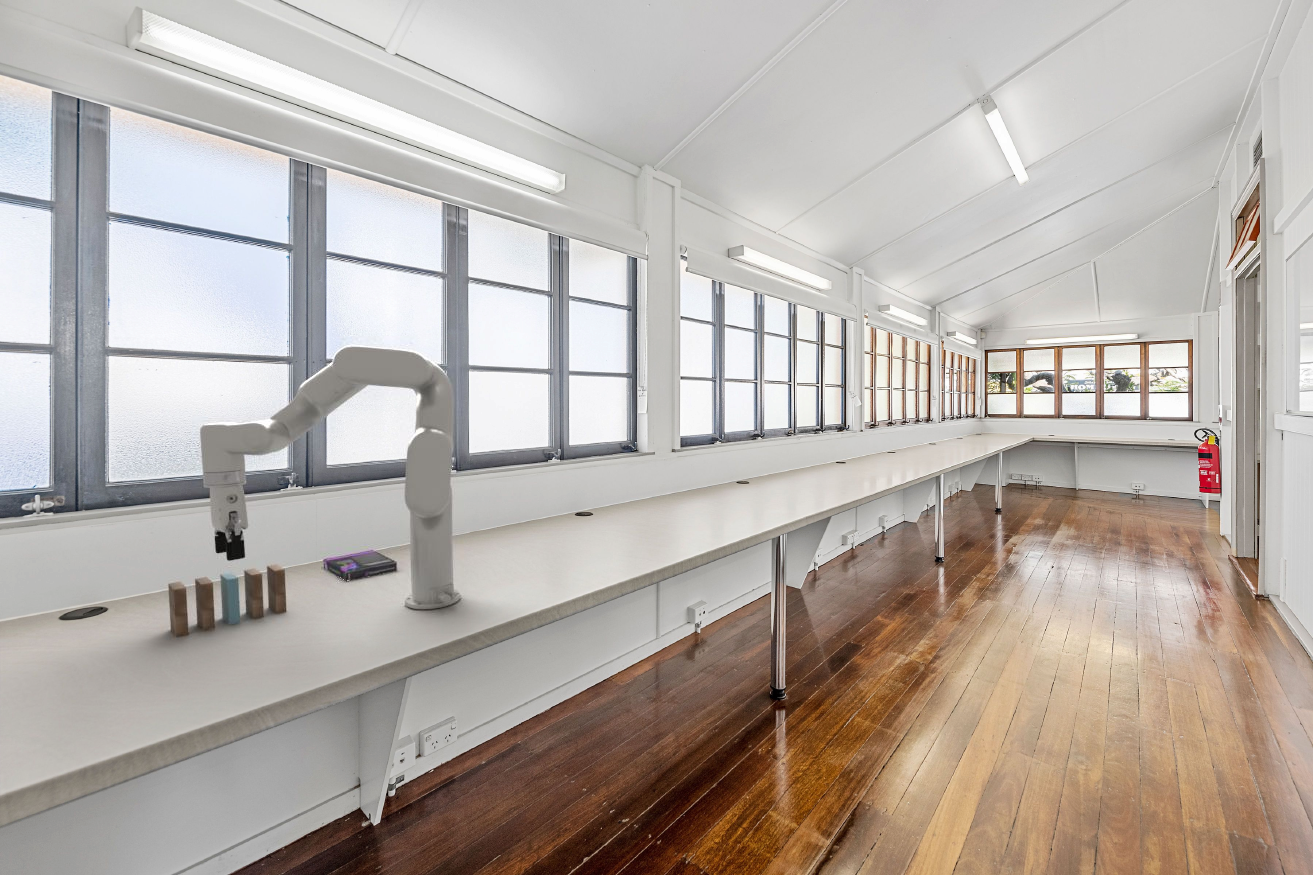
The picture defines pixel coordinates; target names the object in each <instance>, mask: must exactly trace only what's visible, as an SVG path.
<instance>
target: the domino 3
mask: <svg viewBox="0 0 1313 875" xmlns="http://www.w3.org/2000/svg"><path fill="white" fill-rule="evenodd" d="M239 584H240V583H239V577H238V576H237V575H235V574H234V573H232V572H226V573H220V594H221V615H222V619H223V620H224V622H226V623H227V624H228V625H229V626H230V625H234V624H238V623H241V608H240V589H239V588H240V586H239Z"/></svg>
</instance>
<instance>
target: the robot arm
mask: <svg viewBox="0 0 1313 875" xmlns="http://www.w3.org/2000/svg"><path fill="white" fill-rule="evenodd" d="M367 386H374V387H375V386H376V387H377V386H378V387H379V386H380V387H390V388H391V387H392V388H403V389H404V388H405V389H410V390H413V391H414V393H415V395H416V405H415V406H416V408H415V427H414V434H413V435H412V437H411V438H410V440H409V442H408V445H407V451H406V464H405V465H406V466H405V477H404V478H405V481H404V503H405V506H406V507H407V509H408V511H409V530H410V532H409V533H410V535H409V536H410V545H409V546H410V575H411V581H410V582H411V594H409V595H408V596H406V597H405V599H404V605H405V606H406V607H407V608H410V609H414V610H432V609H433V610H434V609H440V608H444V607H448V606H451V605H454V604H456V603H457V602H459V600H460V599H461V592H460V591H459V590H457V589H455V587H454V584H455V583H454V556H453V555H454V553H453V552H454V549H453V489H452V488H453V487H452V484H451V478H452V465H453V464H452V461H453V452H454V450H455V449H454V448H455V447H454V422H455V420H454V418H455V417H454V416H455V414H454V413H455V411H454V410H455V393H454V387H453V384H452V382H451V380H450V378H449V377H448V374H446V372H445V371H444V369H442V368H441V366H439V365H438V364H436V363H435V362H434V361H432V360H431V359H429V358H428V357H426V356H425V355H423V354H422V353H420V352H417V351H415V350H410V349H399V348H391V347H390V348H388V347H379V346H376V347H375V346H367V345H366V346H365V345H357V344H349V345H346V346H344V347H342V348H340V349H339V350H337V351H336V353H335V354H334V356H333V358H332V362H330V363H329V364H328V365H326V366H325V367H323V368H322V369H321V370H319V371H318V372H316V374H314V375H313V376H311V377H309V378H308V379H307V380H305V381H304V382H303V383H301V385H300V386H299V388H298V390H297V392H296V395H295V397H293V398H292V400H291V401H290V402H289V403H288V404H286V405H285V406H284V407H283V408H281V409H280V410H278V411H277V412H276V413H274V414H273V415H271V416H270V417H269V418H267V419H264V420H255V421H249V422H241V423H237V422H209V423H206V424H203V425H202V426H201V427H200V430H199V435H200V436H199V438H200V450H201V451H200V452H201V466H202V479H203V480H202V481H203V487H204V488H205V489H207V488H209V500H210V502H209V503H210V504H209V505H210V518H211V524H212V527H213V528H214V545H215V546H214V548H215V553H216V554H223V553H225V556H226V560H227V561H229V562H230V561H235V560H236V561H237V560H240V559H242V560H243V559H245V558H246V552H245V550H246V549H245V537H244V534H243V533H244V532H243V530H247V529H248V528H249V518H248V511H247V503H246V502H247V501H246V496H245V491H244V487H243V485H246V484H247V476H246V461H245V460H246V458H245V456H265V455H269V454H272V453H275V452H280V451H281V450H284V449H286V448H287V447H289V446H290V445H291V444H293V443H294V442H296V441H297V440H298V439H299V438H301V437H302V436H304V435H305V434H306V433H308V432H309V431H310V430H311V429H313V428H314V427H315V426H316V425H317V424H319V423H320V422H321V421H322V420H324V419H325V418H327V417H328V416H329V415H330V414H331V413H333V412H334V411H335V410H337V409H338V408H339V407H340V406H342V405H343V404H344V403H346V402H347V401H349V400H350V399H352V398H353V397H354V396H355V395H357V394H358V393H360V392H361V391H363V390H364V389H365V388H366V387H367Z"/></svg>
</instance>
